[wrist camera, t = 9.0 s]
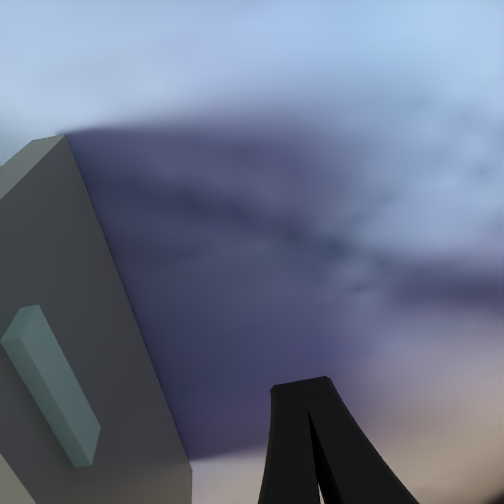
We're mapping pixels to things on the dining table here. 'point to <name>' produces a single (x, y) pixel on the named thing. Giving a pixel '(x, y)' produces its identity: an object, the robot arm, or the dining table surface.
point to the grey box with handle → (73, 353)
